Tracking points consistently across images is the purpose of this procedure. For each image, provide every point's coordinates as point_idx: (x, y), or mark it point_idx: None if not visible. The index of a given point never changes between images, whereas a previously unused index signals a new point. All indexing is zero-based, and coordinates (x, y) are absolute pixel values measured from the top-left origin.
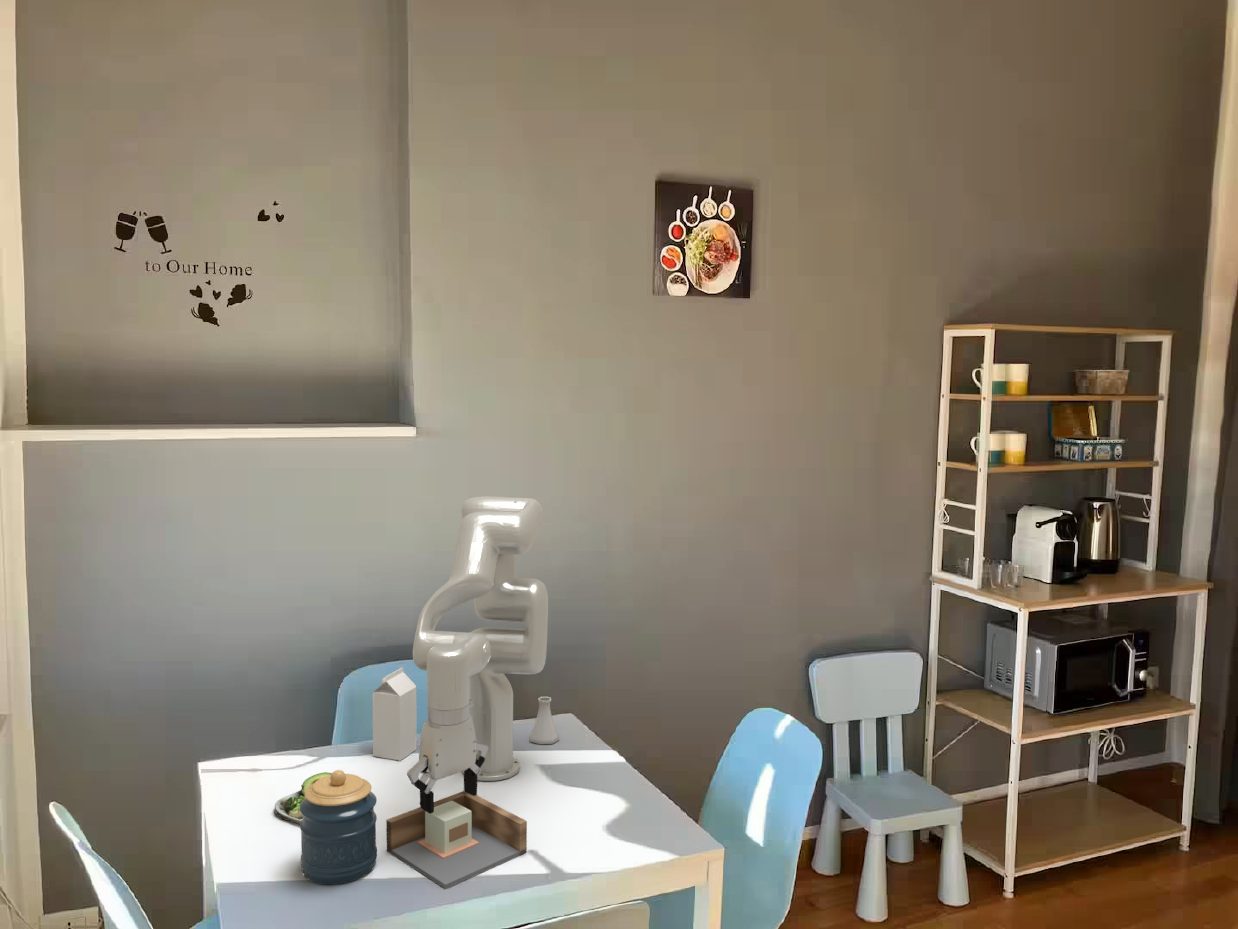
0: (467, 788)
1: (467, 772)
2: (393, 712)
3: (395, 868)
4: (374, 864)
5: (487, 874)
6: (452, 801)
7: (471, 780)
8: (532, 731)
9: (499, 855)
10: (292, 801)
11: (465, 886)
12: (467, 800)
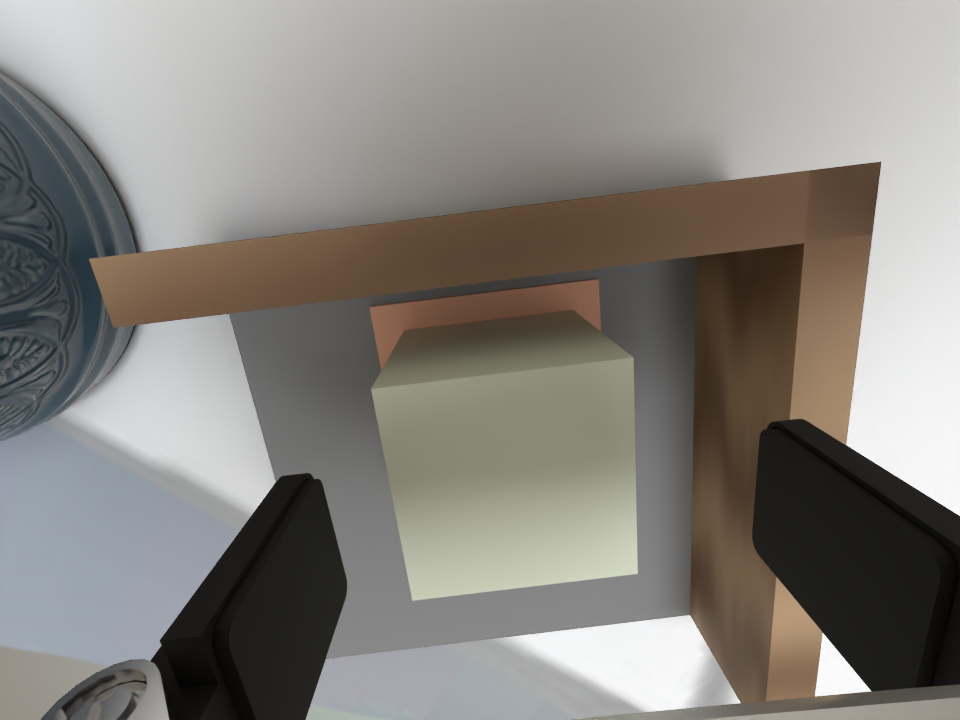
0: (782, 498)
1: (956, 622)
2: None
3: (211, 415)
4: (109, 366)
5: (507, 638)
6: (626, 375)
7: (860, 641)
8: None
9: (609, 599)
10: None
11: (400, 659)
12: (779, 277)
